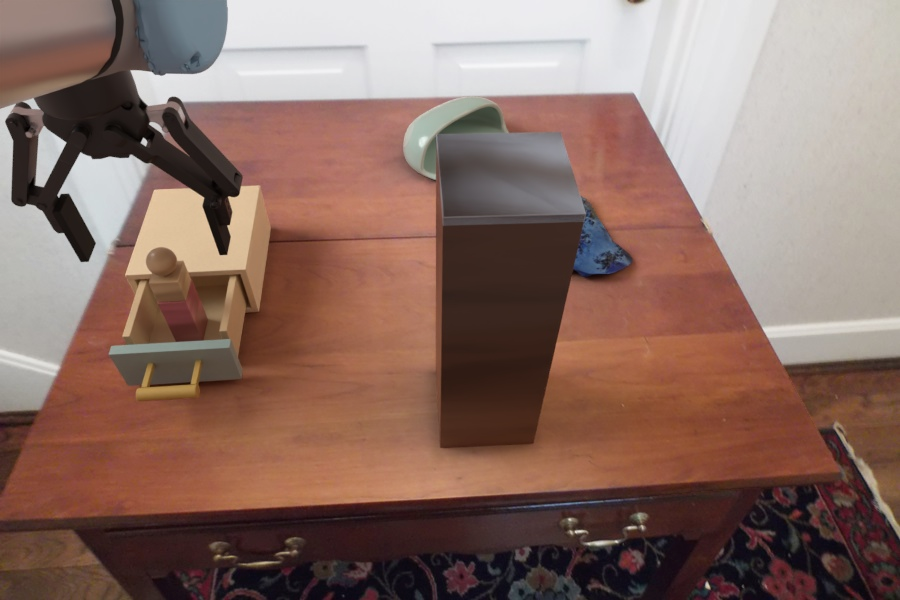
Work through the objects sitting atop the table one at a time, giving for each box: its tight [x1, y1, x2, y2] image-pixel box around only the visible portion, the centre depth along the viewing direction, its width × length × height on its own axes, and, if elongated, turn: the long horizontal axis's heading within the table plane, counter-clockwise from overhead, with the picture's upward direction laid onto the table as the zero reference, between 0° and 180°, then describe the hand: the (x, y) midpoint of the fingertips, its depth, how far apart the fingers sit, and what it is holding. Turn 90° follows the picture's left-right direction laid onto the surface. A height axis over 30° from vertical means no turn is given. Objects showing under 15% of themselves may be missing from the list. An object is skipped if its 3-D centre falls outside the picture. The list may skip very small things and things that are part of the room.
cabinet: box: [124, 184, 272, 314], centre depth 82 cm, size 16×14×8 cm
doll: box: [146, 247, 208, 342], centre depth 71 cm, size 4×3×13 cm
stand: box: [435, 131, 586, 449], centre depth 60 cm, size 10×10×32 cm
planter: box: [402, 95, 510, 181], centre depth 101 cm, size 19×7×16 cm
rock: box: [573, 195, 633, 278], centre depth 89 cm, size 15×17×2 cm
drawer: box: [108, 274, 248, 402], centre depth 73 cm, size 19×12×6 cm, turn 5°
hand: (157, 249), depth 66 cm, fingers open, 13 cm apart
